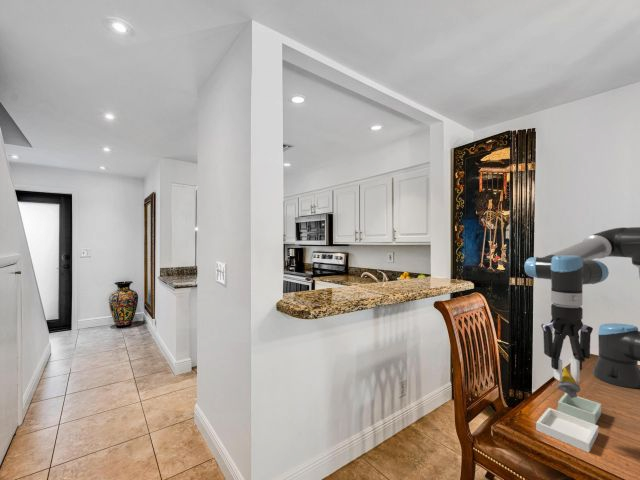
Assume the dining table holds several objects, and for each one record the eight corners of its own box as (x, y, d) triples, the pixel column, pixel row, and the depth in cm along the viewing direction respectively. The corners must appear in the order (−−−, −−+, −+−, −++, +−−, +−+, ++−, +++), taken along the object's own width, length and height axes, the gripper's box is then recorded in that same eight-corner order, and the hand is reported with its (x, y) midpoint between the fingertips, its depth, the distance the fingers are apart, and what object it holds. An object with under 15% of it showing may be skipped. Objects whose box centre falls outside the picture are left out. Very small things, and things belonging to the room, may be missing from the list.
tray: (548, 414, 102) (548, 407, 102) (598, 433, 92) (598, 425, 92) (536, 430, 94) (536, 422, 94) (589, 452, 84) (589, 443, 84)
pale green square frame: (565, 401, 109) (565, 392, 109) (601, 414, 102) (601, 403, 102) (557, 411, 103) (557, 401, 103) (595, 425, 96) (594, 414, 96)
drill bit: (555, 396, 92) (549, 365, 98) (571, 403, 92) (564, 371, 98) (570, 393, 88) (564, 360, 94) (587, 400, 88) (579, 367, 94)
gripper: (544, 307, 90) (544, 384, 90) (607, 308, 88) (607, 387, 88) (529, 301, 97) (529, 372, 98) (587, 302, 95) (587, 375, 95)
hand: (566, 379), depth 93 cm, fingers closed on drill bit, 4 cm apart
